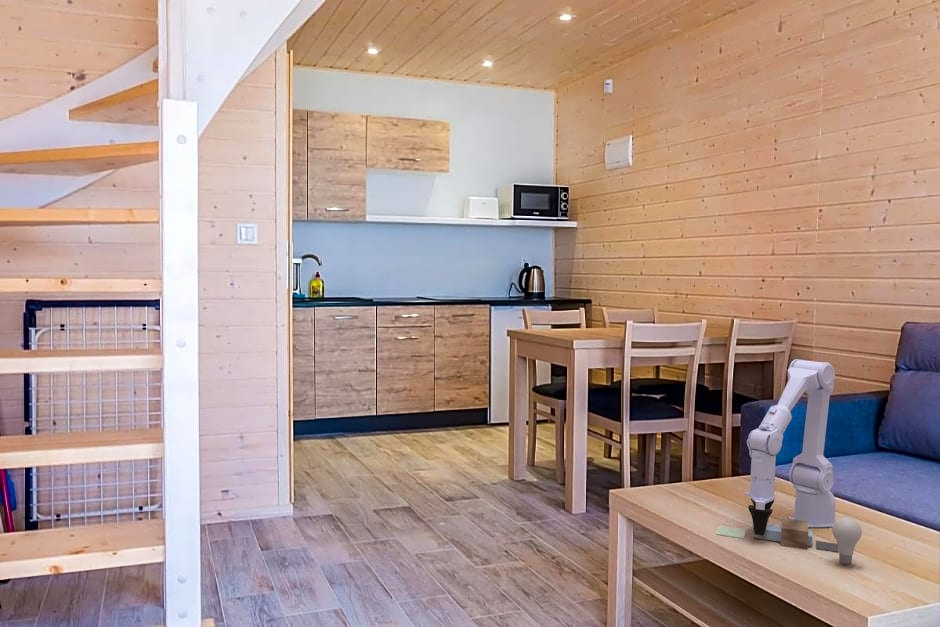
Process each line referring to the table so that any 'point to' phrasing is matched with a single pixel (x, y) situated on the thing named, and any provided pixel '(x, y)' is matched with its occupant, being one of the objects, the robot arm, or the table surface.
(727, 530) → the mat
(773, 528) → the block
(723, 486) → the table surface
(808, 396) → the robot arm
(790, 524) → the tunnel
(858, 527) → the lightbulb
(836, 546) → the pad
